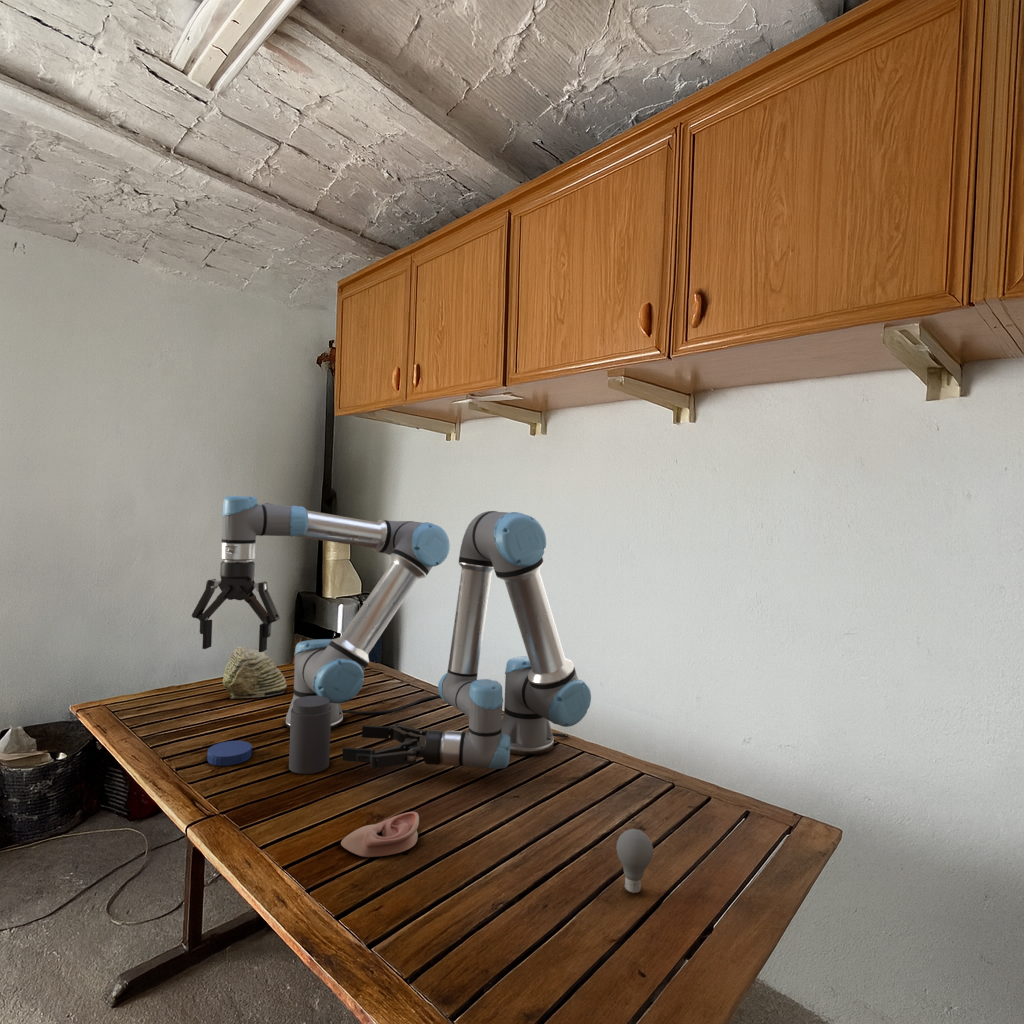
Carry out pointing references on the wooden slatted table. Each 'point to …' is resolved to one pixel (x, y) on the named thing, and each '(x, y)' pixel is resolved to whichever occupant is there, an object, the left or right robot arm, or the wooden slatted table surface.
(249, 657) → the fossil
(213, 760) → the lid
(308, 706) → the jar
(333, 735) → the wooden slatted table surface
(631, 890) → the light bulb
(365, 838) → the anatomical model
